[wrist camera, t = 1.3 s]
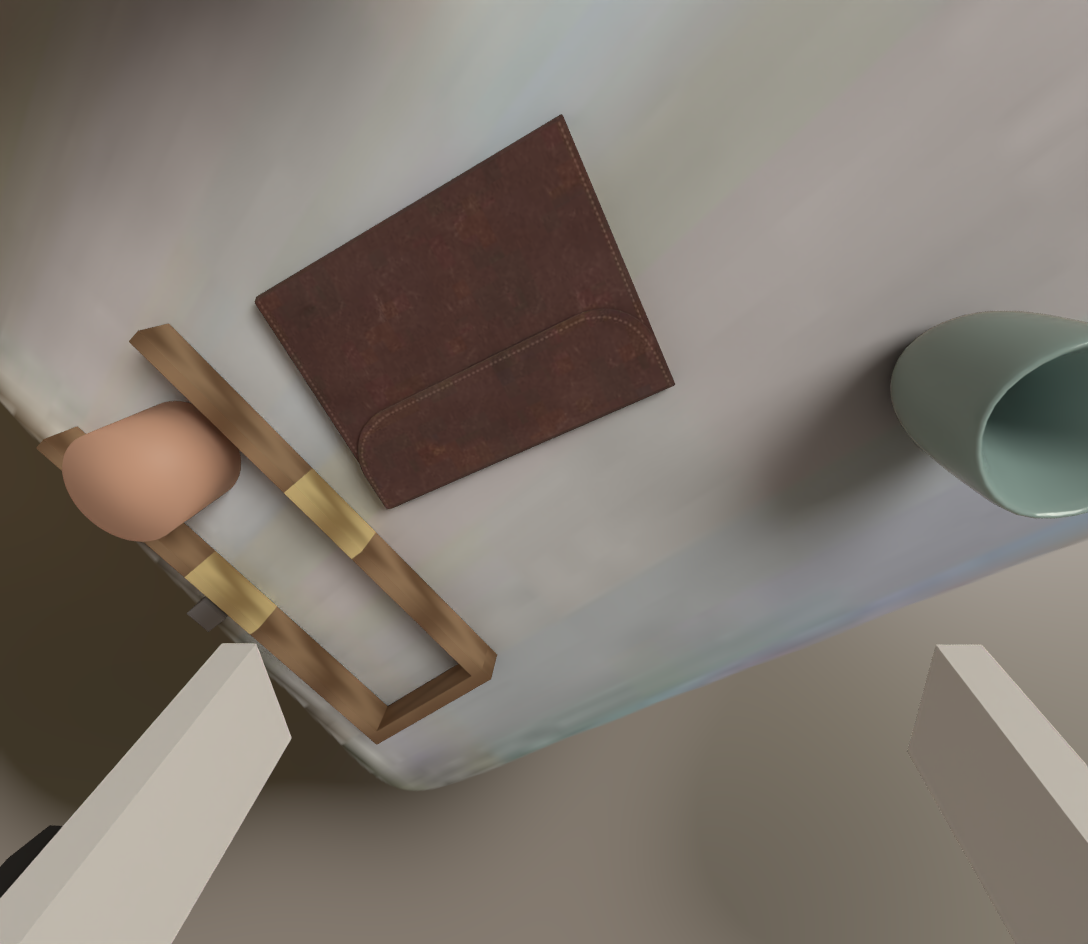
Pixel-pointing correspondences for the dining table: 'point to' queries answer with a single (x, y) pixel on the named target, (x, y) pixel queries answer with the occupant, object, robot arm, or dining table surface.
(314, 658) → the track
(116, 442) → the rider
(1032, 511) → the cup
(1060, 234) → the dining table surface
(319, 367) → the notebook
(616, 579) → the dining table surface
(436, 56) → the dining table surface
